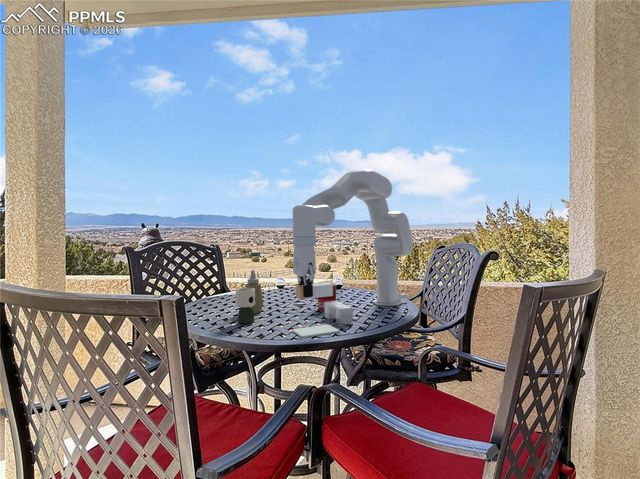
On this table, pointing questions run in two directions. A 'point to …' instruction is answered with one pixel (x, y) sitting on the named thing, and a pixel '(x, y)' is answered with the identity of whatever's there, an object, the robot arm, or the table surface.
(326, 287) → the plug bar
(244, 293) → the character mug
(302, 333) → the sage mat
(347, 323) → the housing
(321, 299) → the canned food
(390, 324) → the table surface
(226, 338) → the table surface
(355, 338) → the table surface
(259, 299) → the squeeze bottle
